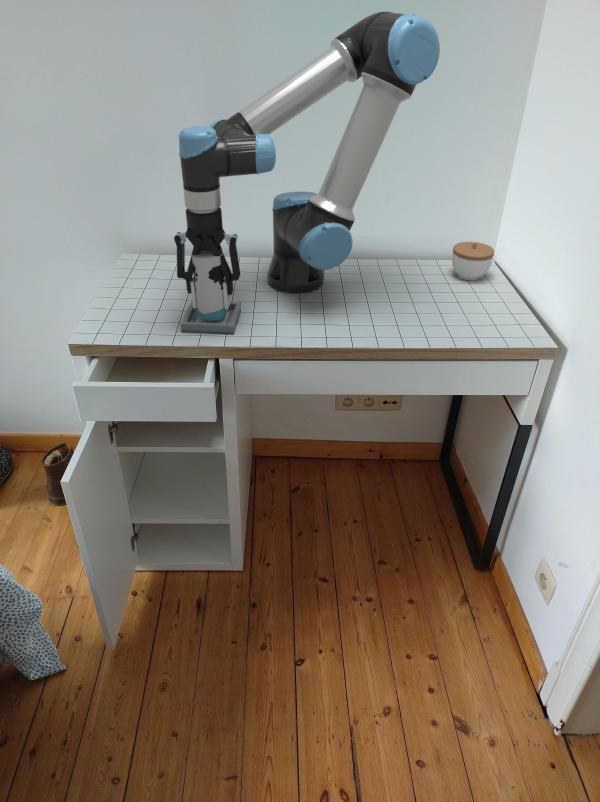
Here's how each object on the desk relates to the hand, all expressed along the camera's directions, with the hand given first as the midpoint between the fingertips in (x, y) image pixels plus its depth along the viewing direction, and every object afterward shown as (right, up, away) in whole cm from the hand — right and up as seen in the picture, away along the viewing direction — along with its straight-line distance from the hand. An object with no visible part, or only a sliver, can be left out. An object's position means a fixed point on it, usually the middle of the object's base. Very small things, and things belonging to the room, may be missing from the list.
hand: (211, 305), depth 141 cm
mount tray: (0, -3, +2) cm, 4 cm away
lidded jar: (+67, +12, +25) cm, 72 cm away
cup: (0, -2, +1) cm, 2 cm away
